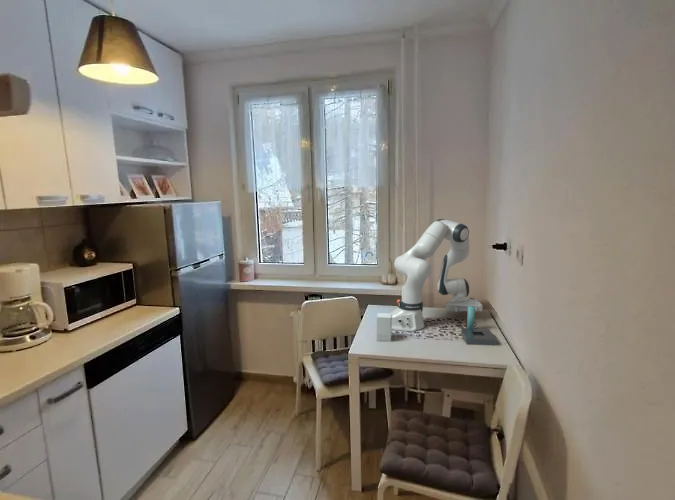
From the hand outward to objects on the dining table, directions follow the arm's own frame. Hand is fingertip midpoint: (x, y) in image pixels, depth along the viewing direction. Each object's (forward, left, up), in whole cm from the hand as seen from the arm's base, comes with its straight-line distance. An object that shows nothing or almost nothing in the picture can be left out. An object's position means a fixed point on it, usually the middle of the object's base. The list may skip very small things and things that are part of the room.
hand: (466, 310), depth 213 cm
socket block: (+1, -24, -7) cm, 25 cm away
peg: (0, -11, -7) cm, 13 cm away
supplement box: (-46, -27, -7) cm, 54 cm away
